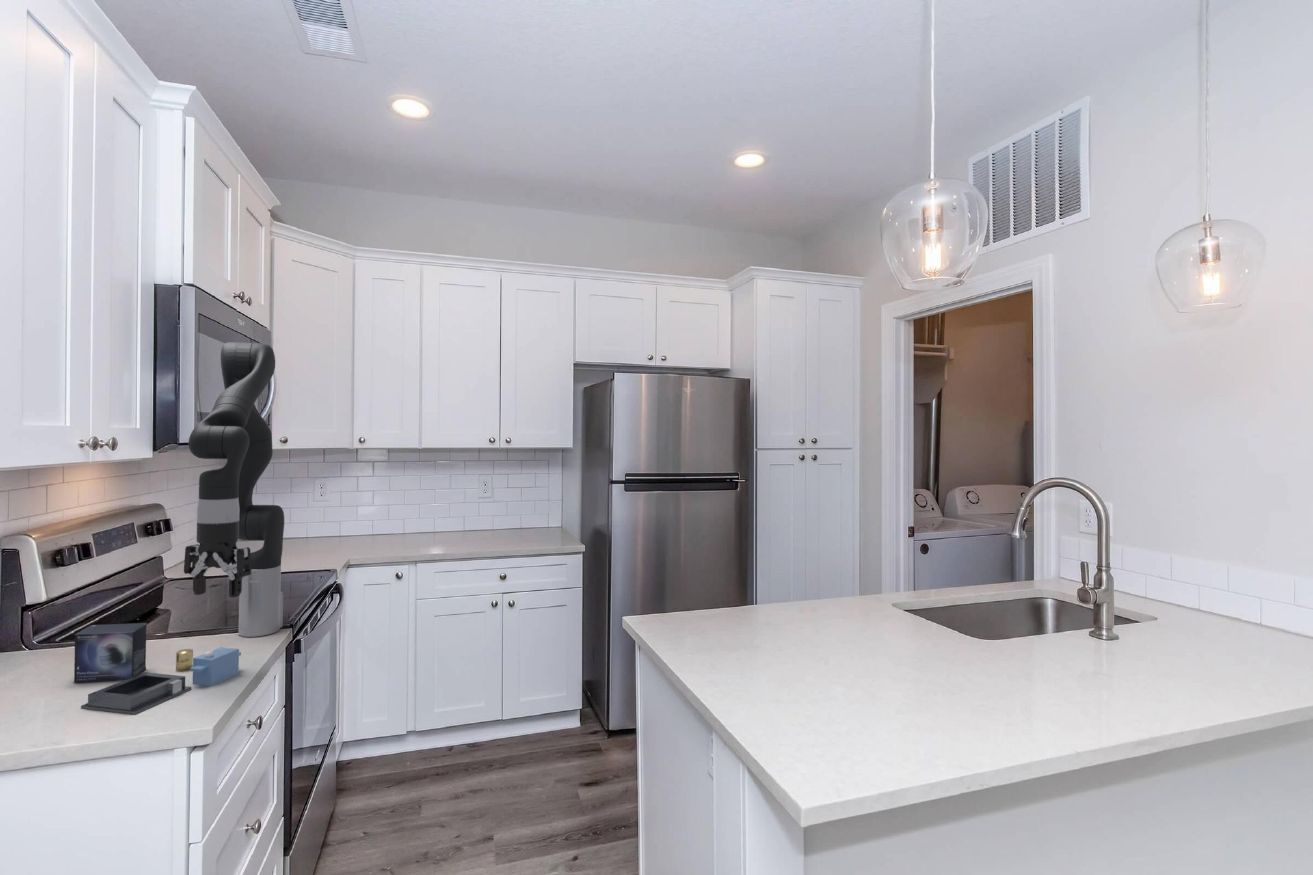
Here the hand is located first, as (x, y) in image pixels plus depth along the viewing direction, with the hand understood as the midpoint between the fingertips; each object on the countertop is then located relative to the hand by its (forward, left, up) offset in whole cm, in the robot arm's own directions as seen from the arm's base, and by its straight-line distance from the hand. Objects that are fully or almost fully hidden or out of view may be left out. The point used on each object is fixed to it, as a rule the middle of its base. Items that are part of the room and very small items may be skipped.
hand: (217, 595), depth 138 cm
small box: (+4, -22, -18) cm, 29 cm away
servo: (0, 0, -18) cm, 18 cm away
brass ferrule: (-3, -11, -18) cm, 21 cm away
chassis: (+12, -6, -18) cm, 22 cm away
